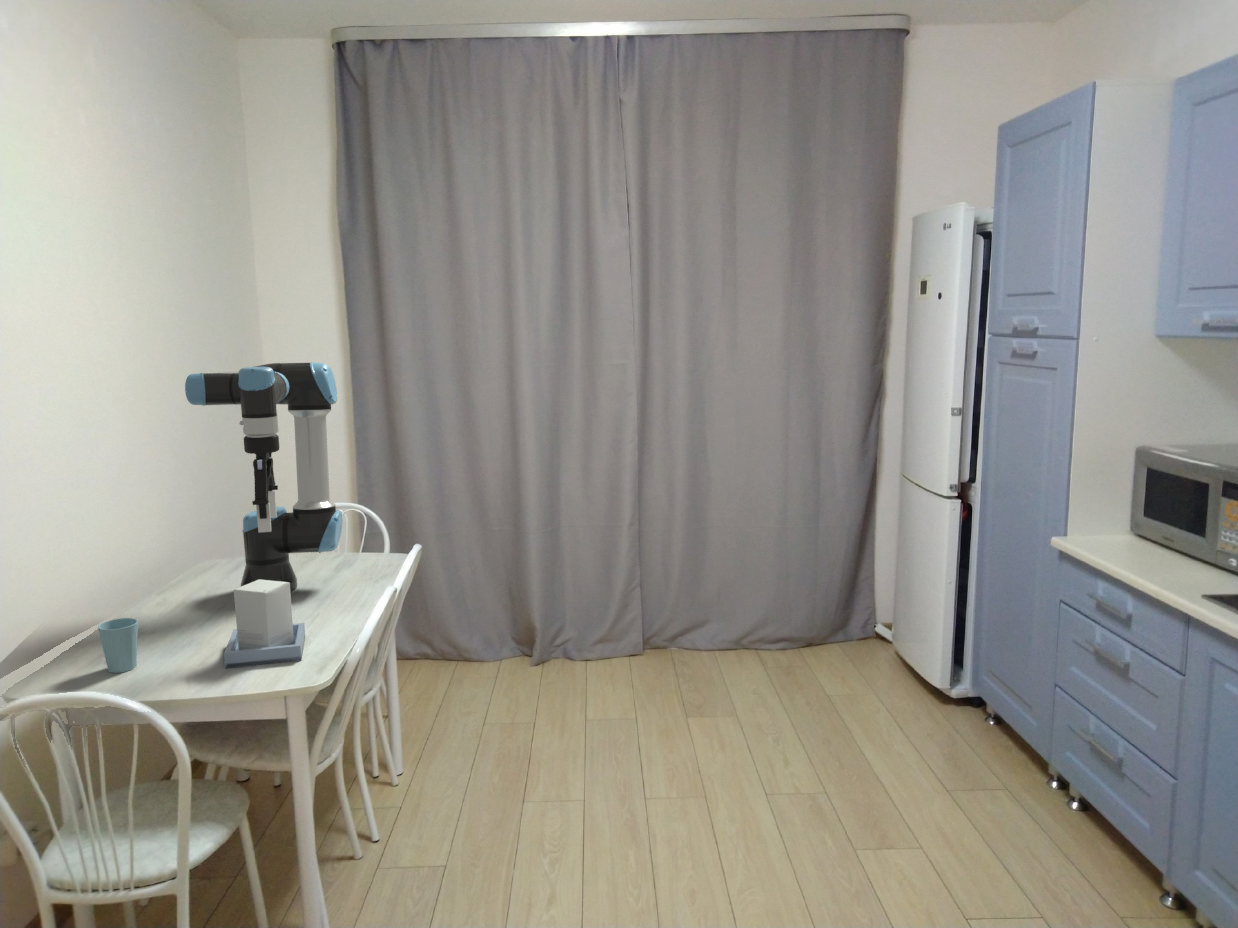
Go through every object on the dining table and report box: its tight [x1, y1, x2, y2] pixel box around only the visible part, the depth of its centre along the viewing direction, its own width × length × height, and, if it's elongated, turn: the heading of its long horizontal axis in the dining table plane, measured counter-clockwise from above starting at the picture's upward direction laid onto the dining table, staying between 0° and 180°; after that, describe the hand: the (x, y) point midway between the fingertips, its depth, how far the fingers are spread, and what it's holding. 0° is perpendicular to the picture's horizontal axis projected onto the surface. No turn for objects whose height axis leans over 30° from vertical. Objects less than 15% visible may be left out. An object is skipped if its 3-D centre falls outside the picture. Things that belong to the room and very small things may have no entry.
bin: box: [223, 622, 306, 670], centre depth 204 cm, size 16×16×4 cm
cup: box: [97, 617, 139, 674], centre depth 194 cm, size 8×8×10 cm
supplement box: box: [233, 579, 294, 650], centre depth 203 cm, size 9×9×15 cm
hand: (267, 524), depth 205 cm, fingers open, 13 cm apart
